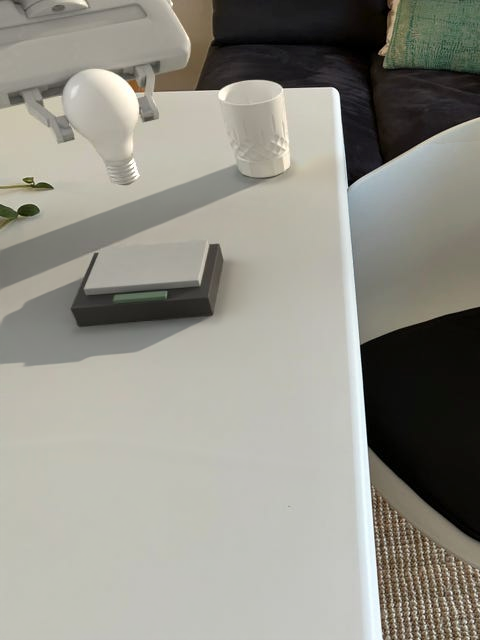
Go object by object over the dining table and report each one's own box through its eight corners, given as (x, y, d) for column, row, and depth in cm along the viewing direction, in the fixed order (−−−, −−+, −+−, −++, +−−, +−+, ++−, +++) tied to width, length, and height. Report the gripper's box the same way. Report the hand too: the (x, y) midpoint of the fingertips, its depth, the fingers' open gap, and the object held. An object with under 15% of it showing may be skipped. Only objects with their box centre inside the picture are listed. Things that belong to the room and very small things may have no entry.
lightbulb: (172, 170, 78) (140, 60, 71) (141, 202, 73) (104, 87, 66) (113, 165, 79) (76, 56, 71) (78, 196, 74) (35, 82, 67)
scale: (78, 326, 77) (67, 302, 75) (100, 269, 84) (91, 246, 82) (213, 315, 78) (206, 290, 76) (223, 260, 86) (217, 236, 84)
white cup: (257, 186, 98) (241, 110, 92) (222, 167, 102) (204, 92, 96) (307, 165, 103) (295, 91, 96) (271, 147, 107) (258, 74, 100)
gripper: (156, -10, 79) (214, 116, 79) (-71, 30, 70) (-5, 171, 70) (159, -49, 73) (221, 86, 73) (-89, -12, 64) (-16, 143, 64)
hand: (109, 128), depth 72 cm, fingers closed on lightbulb, 6 cm apart
